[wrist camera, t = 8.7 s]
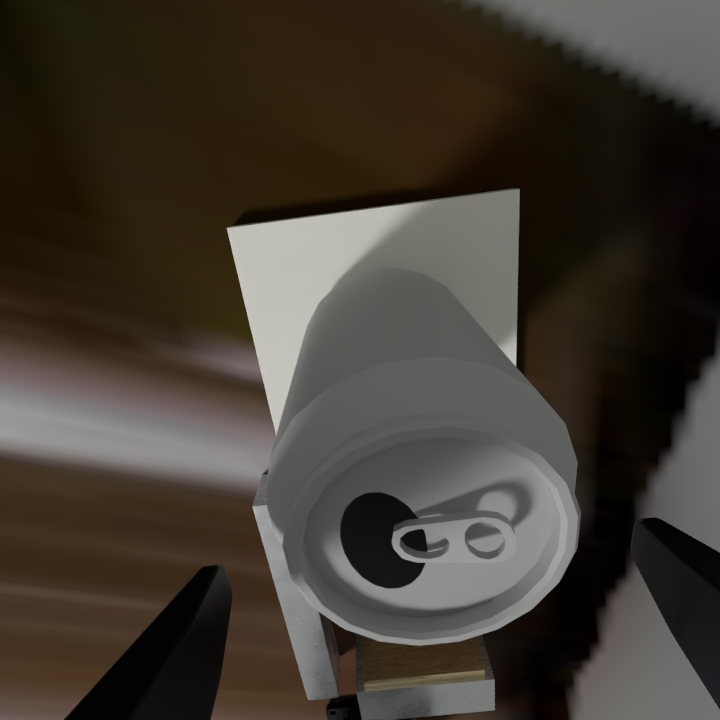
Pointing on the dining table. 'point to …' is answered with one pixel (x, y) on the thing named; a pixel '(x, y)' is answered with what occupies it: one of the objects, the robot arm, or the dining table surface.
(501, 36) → the dining table surface
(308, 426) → the can
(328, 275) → the tray
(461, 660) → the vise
